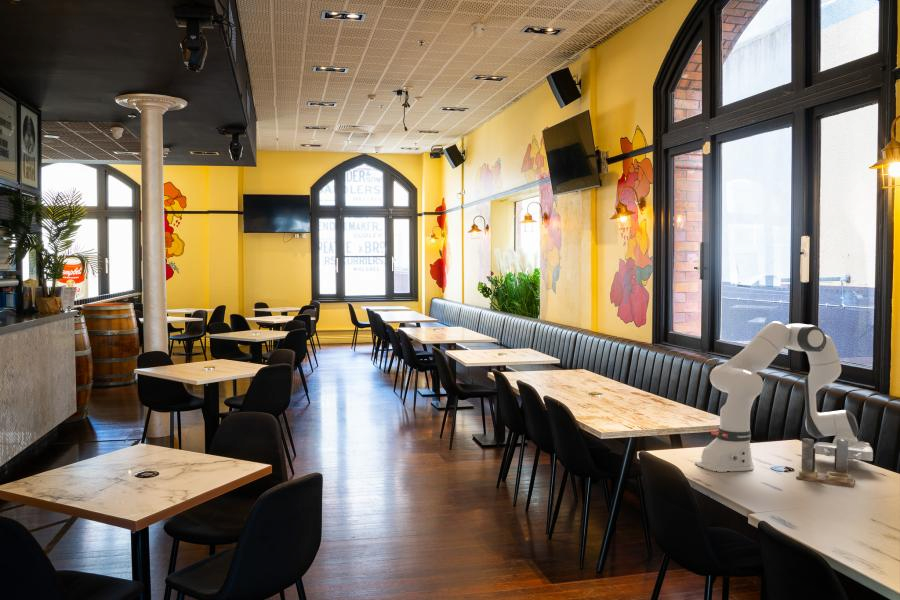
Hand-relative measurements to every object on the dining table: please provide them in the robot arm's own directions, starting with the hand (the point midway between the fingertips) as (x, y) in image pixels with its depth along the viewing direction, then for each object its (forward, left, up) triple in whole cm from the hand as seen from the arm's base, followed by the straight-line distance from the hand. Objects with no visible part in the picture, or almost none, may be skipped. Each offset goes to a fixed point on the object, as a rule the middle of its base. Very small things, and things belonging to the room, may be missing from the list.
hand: (841, 455), depth 268 cm
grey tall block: (-2, -1, -7) cm, 7 cm away
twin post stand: (-13, -4, -7) cm, 15 cm away
